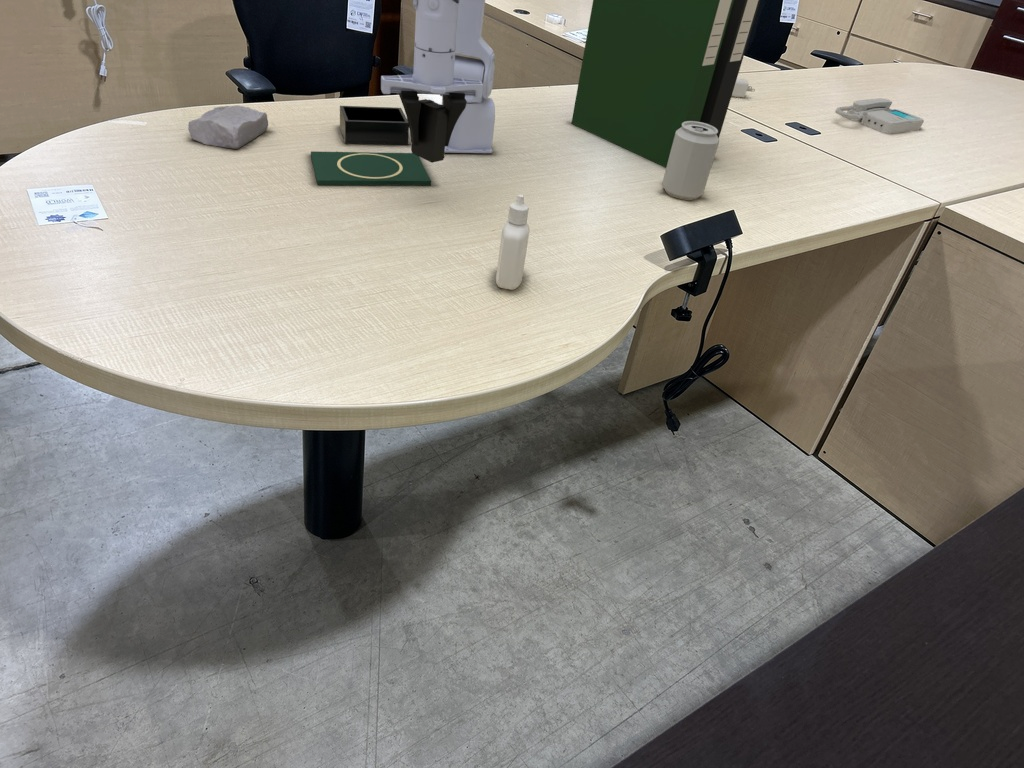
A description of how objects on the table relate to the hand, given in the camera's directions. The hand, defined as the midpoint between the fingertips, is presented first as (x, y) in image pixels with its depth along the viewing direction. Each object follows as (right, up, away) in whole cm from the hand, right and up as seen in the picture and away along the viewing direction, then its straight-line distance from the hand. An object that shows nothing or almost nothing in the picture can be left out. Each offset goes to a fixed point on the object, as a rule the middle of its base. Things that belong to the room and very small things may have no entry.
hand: (429, 143), depth 110 cm
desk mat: (-11, -1, +11) cm, 16 cm away
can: (+43, -2, +21) cm, 48 cm away
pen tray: (-13, +9, +24) cm, 29 cm away
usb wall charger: (+72, +39, +81) cm, 115 cm away
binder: (+39, +14, +42) cm, 59 cm away
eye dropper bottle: (+12, -22, -12) cm, 28 cm away
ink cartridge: (0, -2, +1) cm, 2 cm away
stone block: (-36, +6, +16) cm, 40 cm away
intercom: (+104, +30, +76) cm, 132 cm away
